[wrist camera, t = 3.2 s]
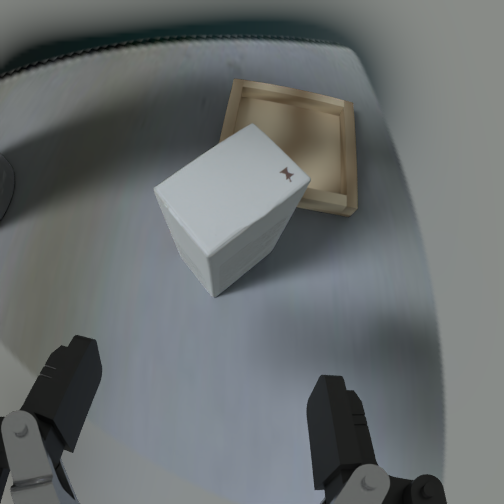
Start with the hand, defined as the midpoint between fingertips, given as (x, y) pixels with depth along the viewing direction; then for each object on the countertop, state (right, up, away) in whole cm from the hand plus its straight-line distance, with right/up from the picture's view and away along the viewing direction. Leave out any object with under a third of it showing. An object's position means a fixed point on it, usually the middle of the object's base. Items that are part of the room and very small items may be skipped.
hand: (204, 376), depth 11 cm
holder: (+5, +14, +18) cm, 23 cm away
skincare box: (0, +4, +15) cm, 15 cm away
